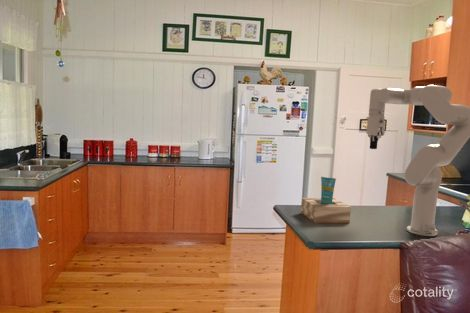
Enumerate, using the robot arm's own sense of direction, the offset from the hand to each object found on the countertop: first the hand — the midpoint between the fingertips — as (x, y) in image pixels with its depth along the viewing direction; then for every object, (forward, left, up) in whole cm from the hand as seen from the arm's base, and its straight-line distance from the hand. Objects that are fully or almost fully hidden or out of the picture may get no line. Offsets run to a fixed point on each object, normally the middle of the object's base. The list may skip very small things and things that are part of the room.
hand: (373, 148), depth 197 cm
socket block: (-6, +27, -35) cm, 45 cm away
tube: (-6, +27, -34) cm, 44 cm away
